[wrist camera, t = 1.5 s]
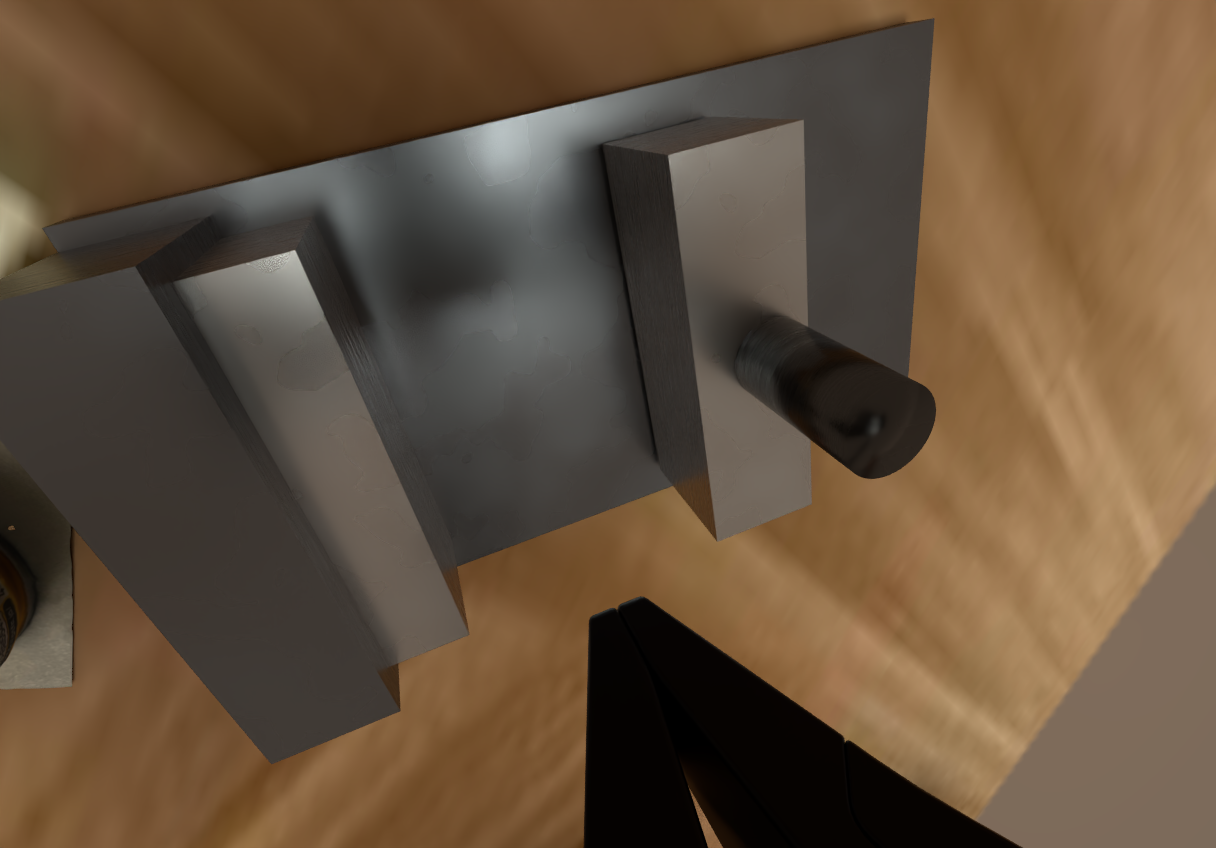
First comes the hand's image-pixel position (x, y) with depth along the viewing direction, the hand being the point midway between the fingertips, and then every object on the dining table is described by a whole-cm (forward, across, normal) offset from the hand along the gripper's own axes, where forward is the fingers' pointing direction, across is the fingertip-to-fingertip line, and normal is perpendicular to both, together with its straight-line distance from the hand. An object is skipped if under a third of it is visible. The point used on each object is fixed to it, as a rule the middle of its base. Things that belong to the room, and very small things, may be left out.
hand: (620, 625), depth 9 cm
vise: (+11, -3, 0) cm, 11 cm away
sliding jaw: (+10, -6, 0) cm, 11 cm away
